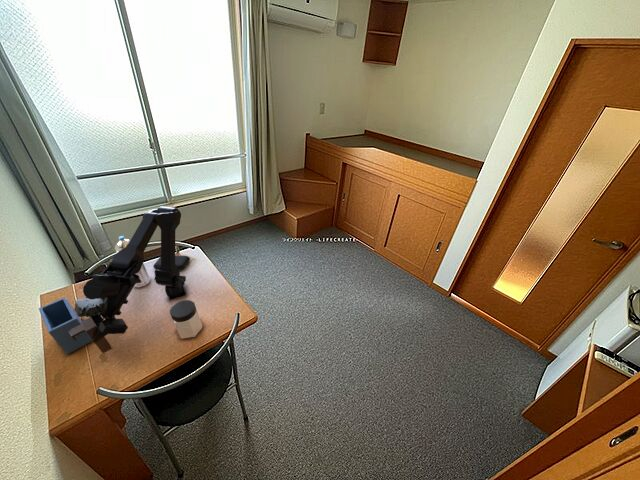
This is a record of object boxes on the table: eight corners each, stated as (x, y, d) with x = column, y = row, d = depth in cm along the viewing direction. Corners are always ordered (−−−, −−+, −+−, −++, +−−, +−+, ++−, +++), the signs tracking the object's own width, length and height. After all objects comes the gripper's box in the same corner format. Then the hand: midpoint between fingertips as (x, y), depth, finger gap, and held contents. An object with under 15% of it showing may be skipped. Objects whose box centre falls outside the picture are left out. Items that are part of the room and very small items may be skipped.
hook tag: (106, 339, 87) (91, 316, 80) (112, 348, 84) (96, 325, 77) (86, 351, 83) (67, 328, 76) (90, 360, 80) (72, 338, 74)
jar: (174, 340, 93) (165, 319, 86) (179, 322, 99) (171, 301, 92) (201, 336, 94) (194, 315, 88) (204, 318, 101) (197, 298, 94)
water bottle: (146, 275, 119) (126, 230, 105) (153, 282, 116) (134, 236, 102) (130, 283, 114) (107, 237, 100) (137, 290, 111) (115, 244, 97)
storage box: (81, 319, 97) (65, 296, 90) (93, 340, 90) (76, 318, 84) (57, 330, 93) (38, 308, 86) (67, 354, 86) (48, 332, 79)
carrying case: (151, 272, 121) (183, 273, 122) (149, 267, 119) (181, 268, 120) (162, 258, 129) (191, 259, 130) (160, 253, 128) (190, 254, 129)
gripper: (77, 275, 79) (49, 320, 78) (98, 308, 69) (66, 359, 68) (117, 281, 88) (92, 320, 87) (139, 310, 79) (112, 354, 78)
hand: (91, 337), depth 80 cm, fingers closed on hook tag, 5 cm apart
